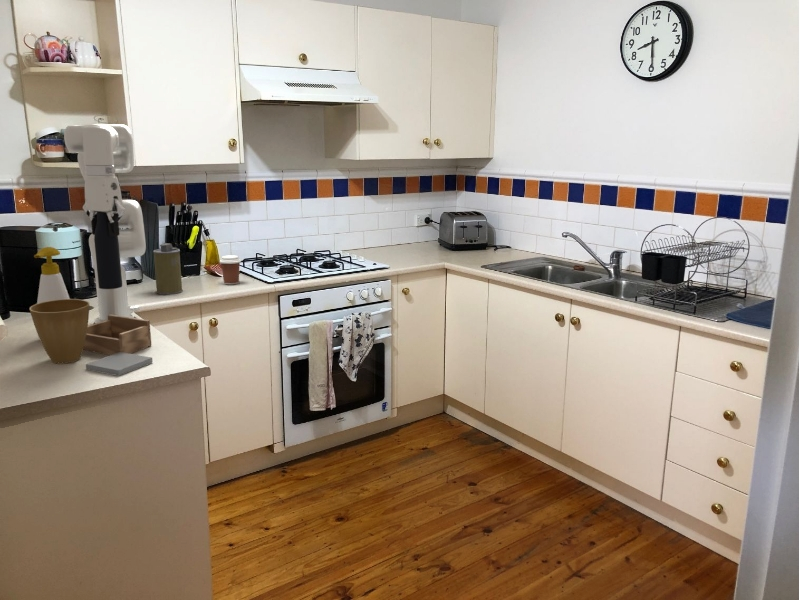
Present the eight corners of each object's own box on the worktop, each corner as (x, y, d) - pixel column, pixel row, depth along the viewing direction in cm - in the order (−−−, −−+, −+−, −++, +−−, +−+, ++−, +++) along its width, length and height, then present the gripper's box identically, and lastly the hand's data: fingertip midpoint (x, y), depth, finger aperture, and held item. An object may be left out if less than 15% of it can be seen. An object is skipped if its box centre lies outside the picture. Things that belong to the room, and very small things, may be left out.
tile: (120, 356, 190) (120, 351, 189) (152, 362, 185) (152, 357, 185) (86, 369, 179) (85, 364, 179) (119, 375, 174) (118, 370, 174)
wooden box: (112, 339, 207) (110, 314, 205) (151, 345, 200) (149, 320, 199) (80, 349, 196) (77, 323, 194) (120, 356, 190) (118, 330, 188)
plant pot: (28, 359, 187) (22, 304, 183) (83, 348, 197) (78, 296, 193) (46, 372, 177) (39, 314, 173) (102, 360, 187) (97, 305, 183)
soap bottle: (26, 344, 201) (14, 249, 194) (45, 334, 211) (35, 244, 204) (67, 345, 200) (57, 250, 193) (85, 335, 210) (75, 245, 204)
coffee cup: (231, 286, 285) (229, 258, 283) (216, 283, 290) (214, 256, 287) (246, 282, 293) (245, 256, 290) (231, 280, 298) (230, 254, 295)
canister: (171, 295, 267) (168, 246, 263) (150, 293, 271) (146, 244, 266) (188, 290, 277) (185, 242, 273) (168, 288, 281) (164, 241, 276)
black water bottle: (114, 289, 191) (104, 185, 184) (94, 288, 192) (83, 184, 185) (126, 285, 197) (118, 183, 190) (107, 284, 198) (97, 182, 191)
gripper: (133, 172, 186) (138, 235, 191) (88, 170, 193) (94, 231, 197) (112, 173, 180) (118, 239, 184) (67, 171, 186) (73, 234, 191)
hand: (105, 234), depth 191 cm, fingers closed on black water bottle, 5 cm apart
